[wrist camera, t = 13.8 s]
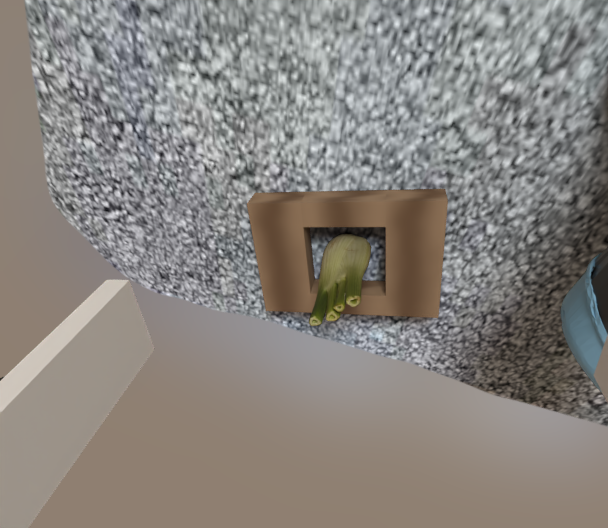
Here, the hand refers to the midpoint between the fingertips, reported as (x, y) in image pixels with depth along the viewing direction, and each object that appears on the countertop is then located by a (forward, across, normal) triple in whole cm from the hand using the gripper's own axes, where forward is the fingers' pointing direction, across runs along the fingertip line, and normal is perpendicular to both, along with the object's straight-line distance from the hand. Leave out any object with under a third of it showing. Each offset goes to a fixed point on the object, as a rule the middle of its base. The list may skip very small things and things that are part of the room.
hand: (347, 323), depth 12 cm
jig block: (+33, +4, +16) cm, 37 cm away
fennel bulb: (+33, +4, +16) cm, 37 cm away
